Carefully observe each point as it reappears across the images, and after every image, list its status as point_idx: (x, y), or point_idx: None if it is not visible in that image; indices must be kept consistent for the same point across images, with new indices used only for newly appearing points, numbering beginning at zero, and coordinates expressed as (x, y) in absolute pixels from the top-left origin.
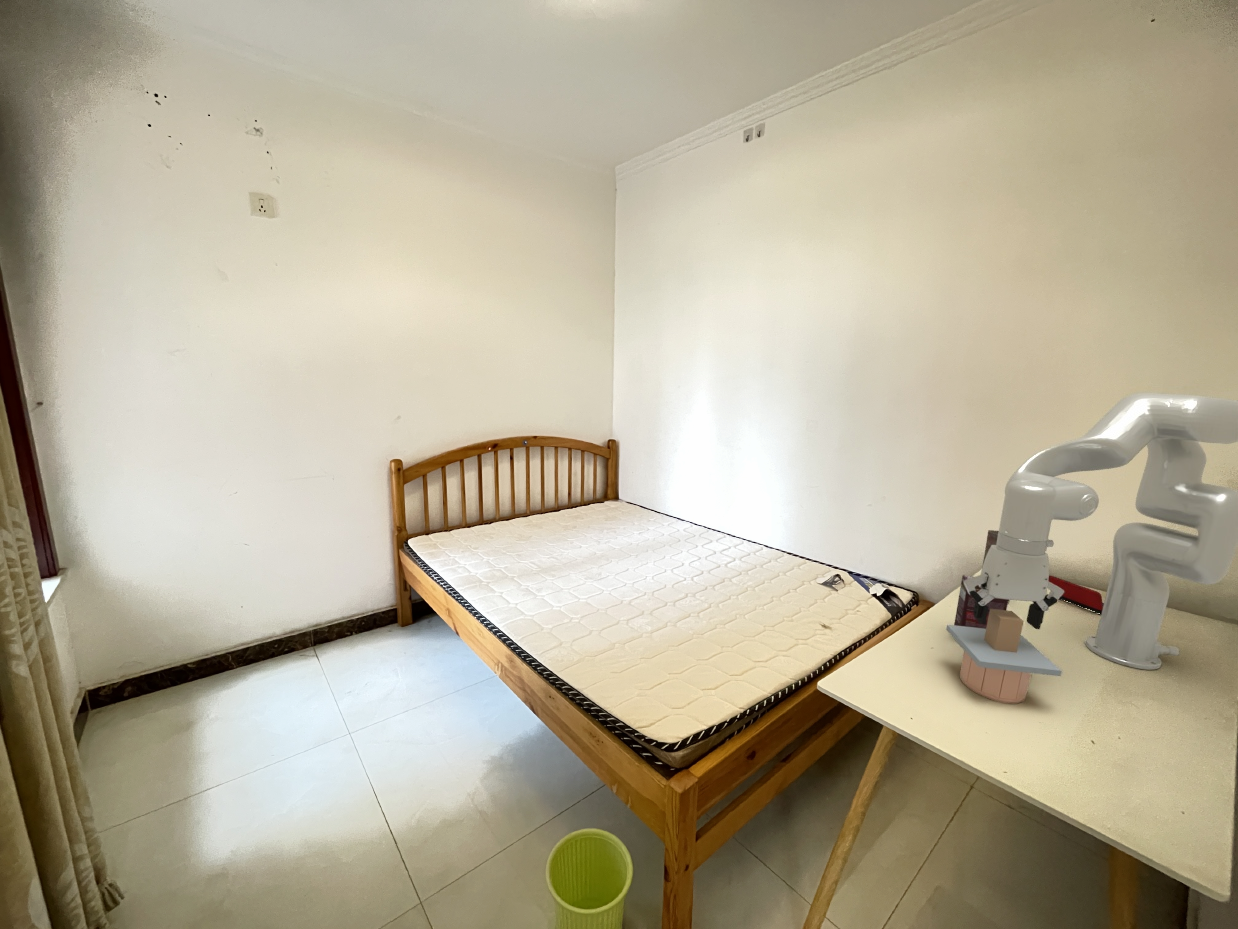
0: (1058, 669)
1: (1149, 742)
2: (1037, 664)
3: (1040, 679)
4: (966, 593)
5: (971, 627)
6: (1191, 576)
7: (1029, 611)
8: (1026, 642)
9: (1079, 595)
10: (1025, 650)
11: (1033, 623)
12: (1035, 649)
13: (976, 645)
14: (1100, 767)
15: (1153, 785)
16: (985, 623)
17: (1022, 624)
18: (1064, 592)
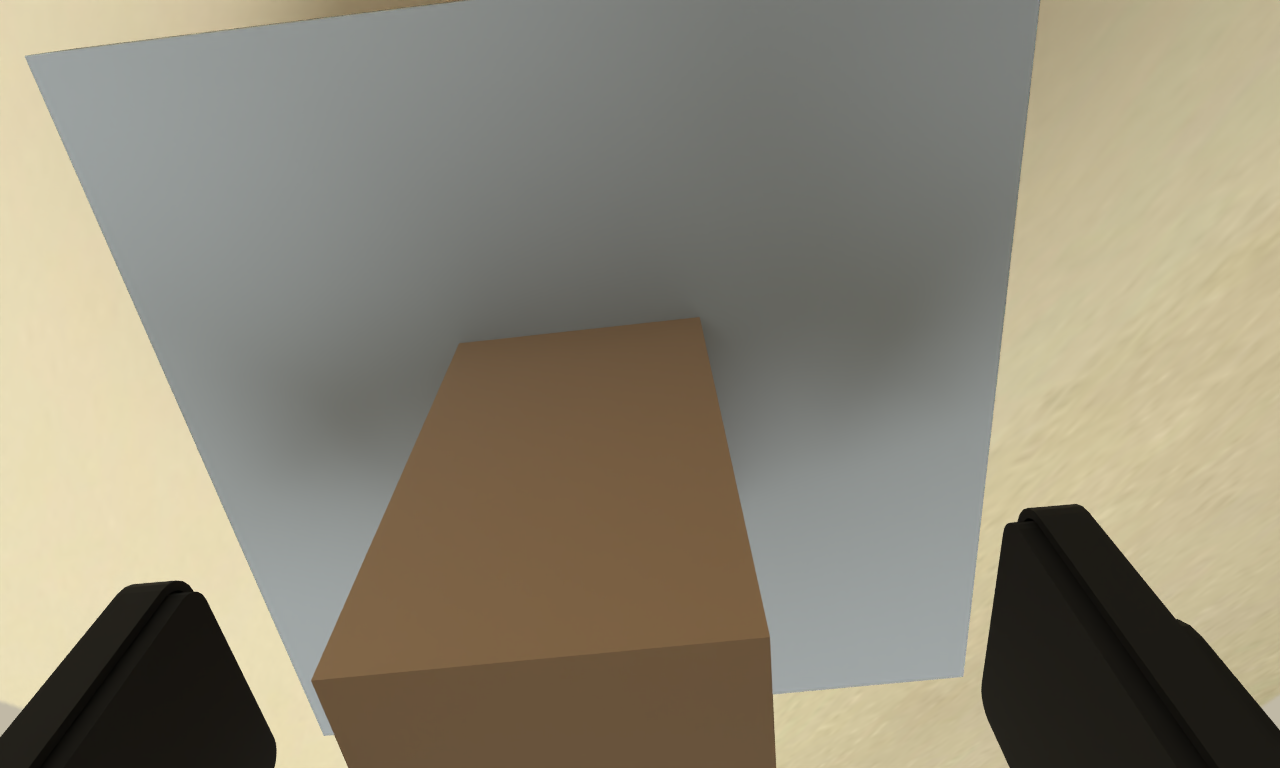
0: (946, 669)
1: (1221, 527)
2: (805, 645)
3: (1051, 24)
4: None
5: (368, 27)
6: None
7: (1120, 728)
8: (968, 247)
9: None
10: (835, 446)
11: (1009, 711)
12: (969, 387)
13: (343, 502)
14: (832, 730)
15: (974, 757)
16: (274, 761)
17: None
18: None
